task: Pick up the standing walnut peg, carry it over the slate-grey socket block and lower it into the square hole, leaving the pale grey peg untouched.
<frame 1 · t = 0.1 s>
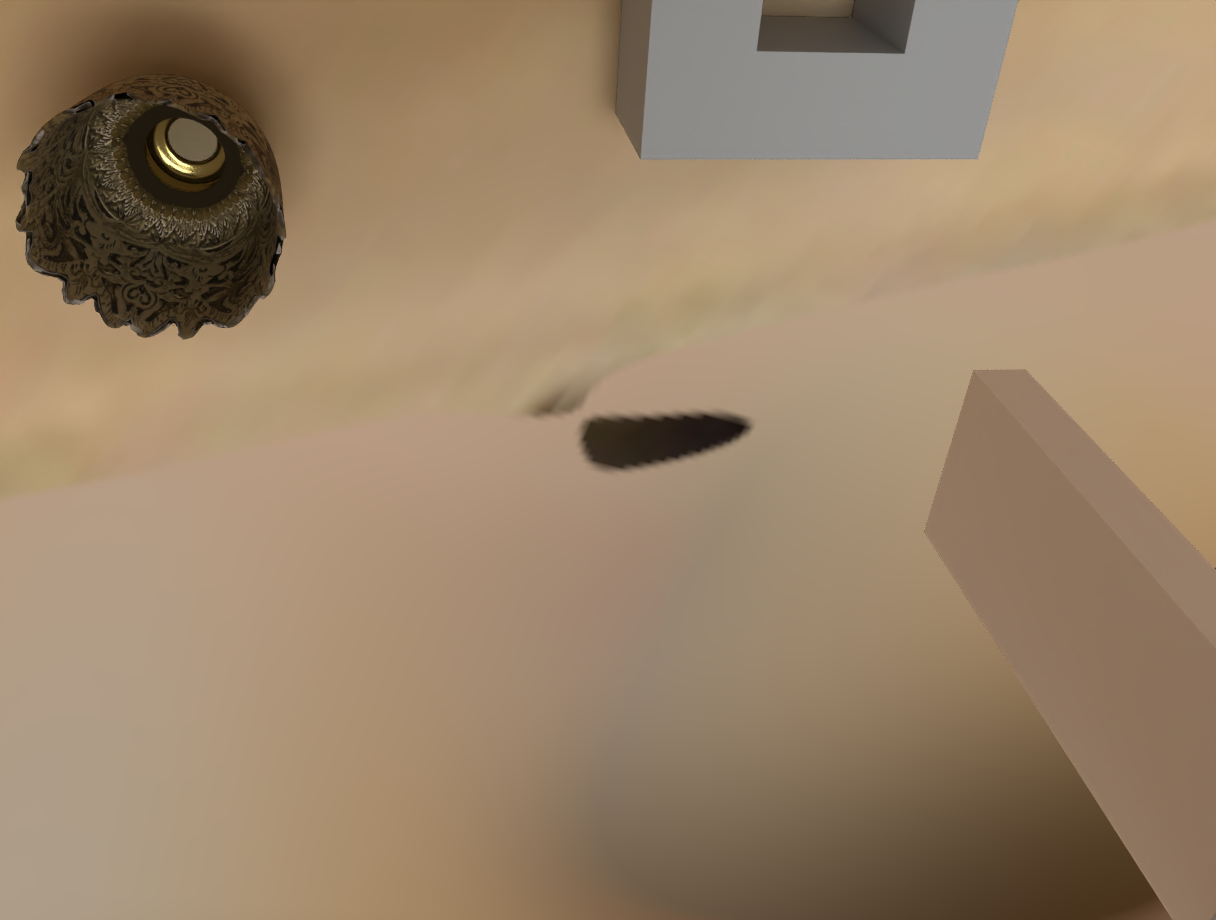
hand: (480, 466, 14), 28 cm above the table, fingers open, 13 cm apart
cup: (193, 136, 38), on the table
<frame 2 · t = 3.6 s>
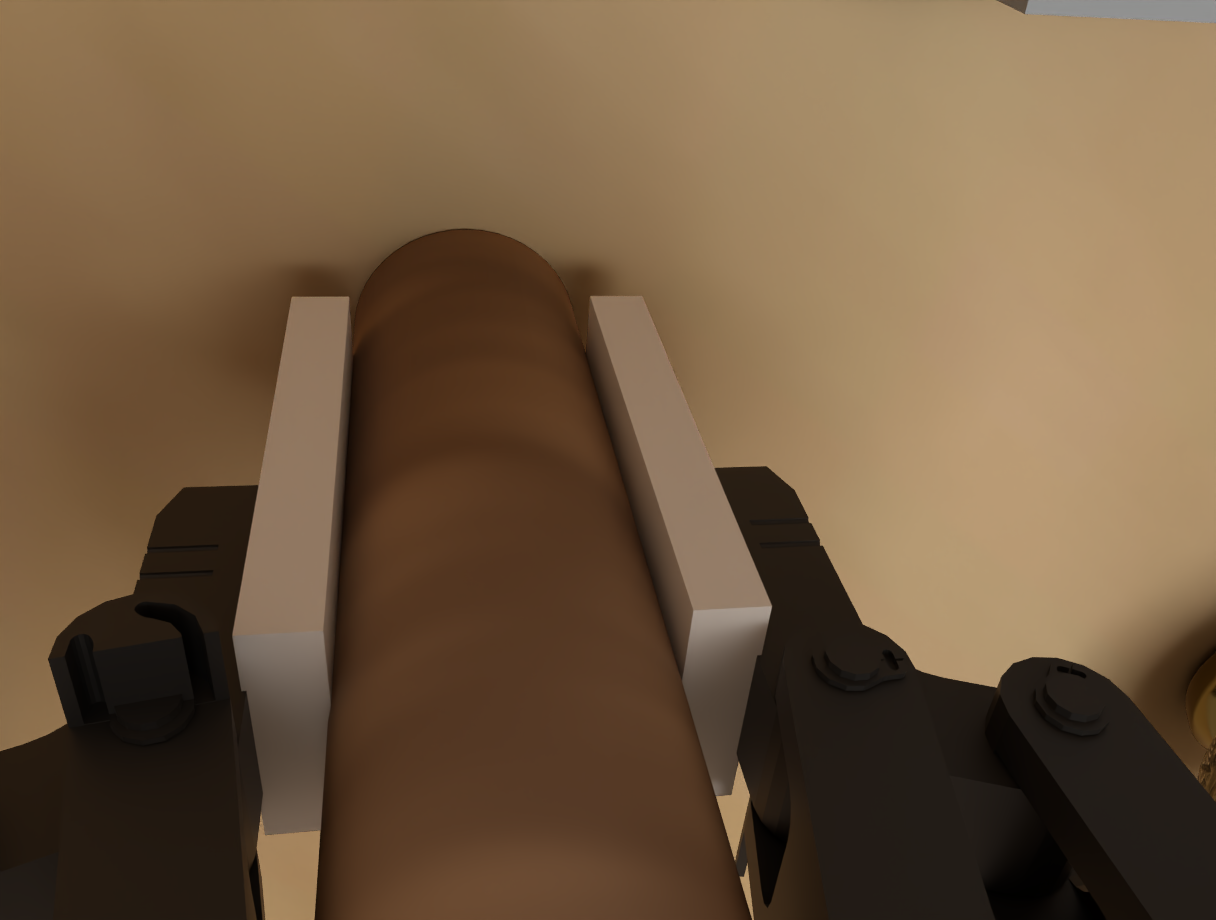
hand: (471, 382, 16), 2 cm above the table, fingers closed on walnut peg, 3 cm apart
walnut peg: (466, 332, 17), on the table, touching gripper
when the fingers open (6 cm above the table, at t = 7.9 s): walnut peg drops 2 cm, resting in socket block.
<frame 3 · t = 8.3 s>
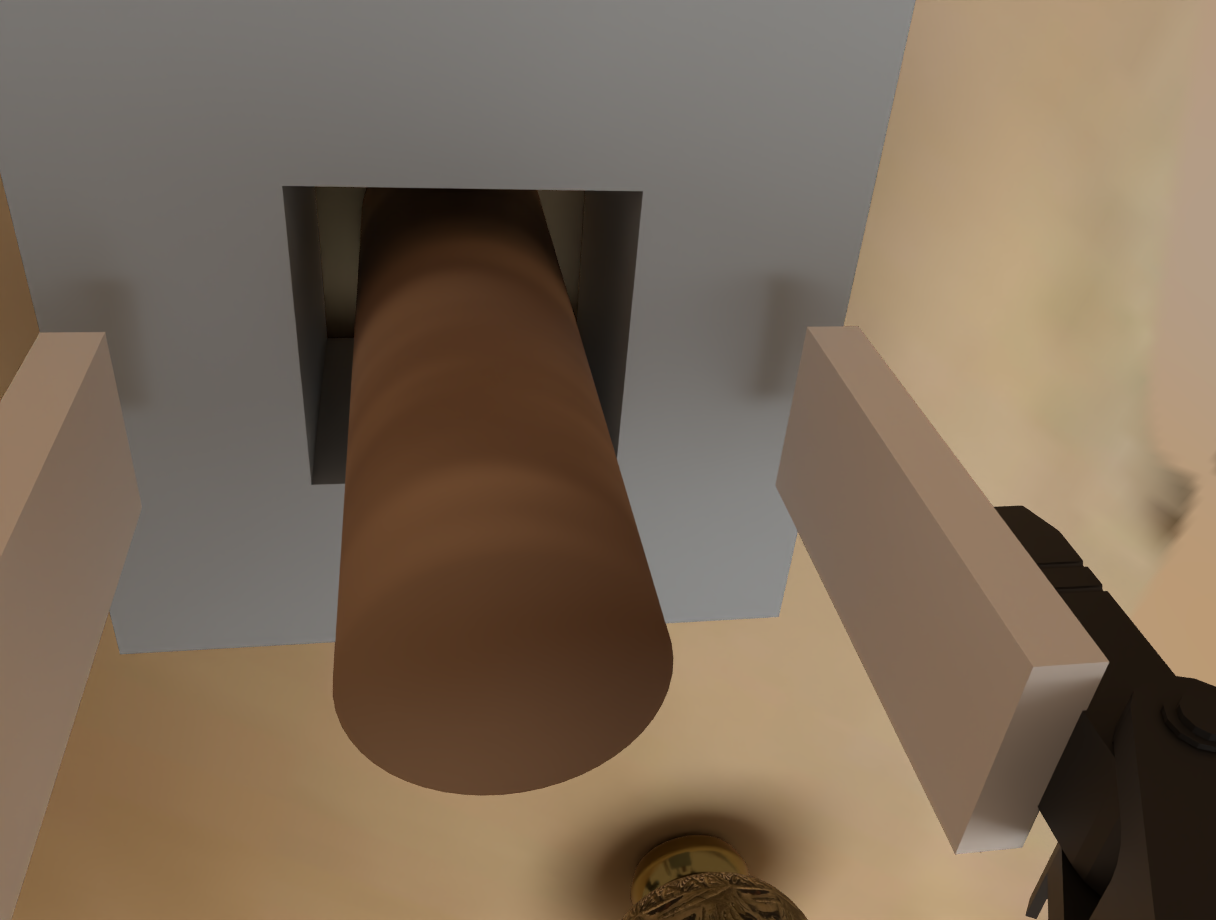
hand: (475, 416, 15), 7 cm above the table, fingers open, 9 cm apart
socket block: (453, 220, 20), on the table
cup: (682, 856, 34), on the table
walnut peg: (453, 221, 20), resting in socket block
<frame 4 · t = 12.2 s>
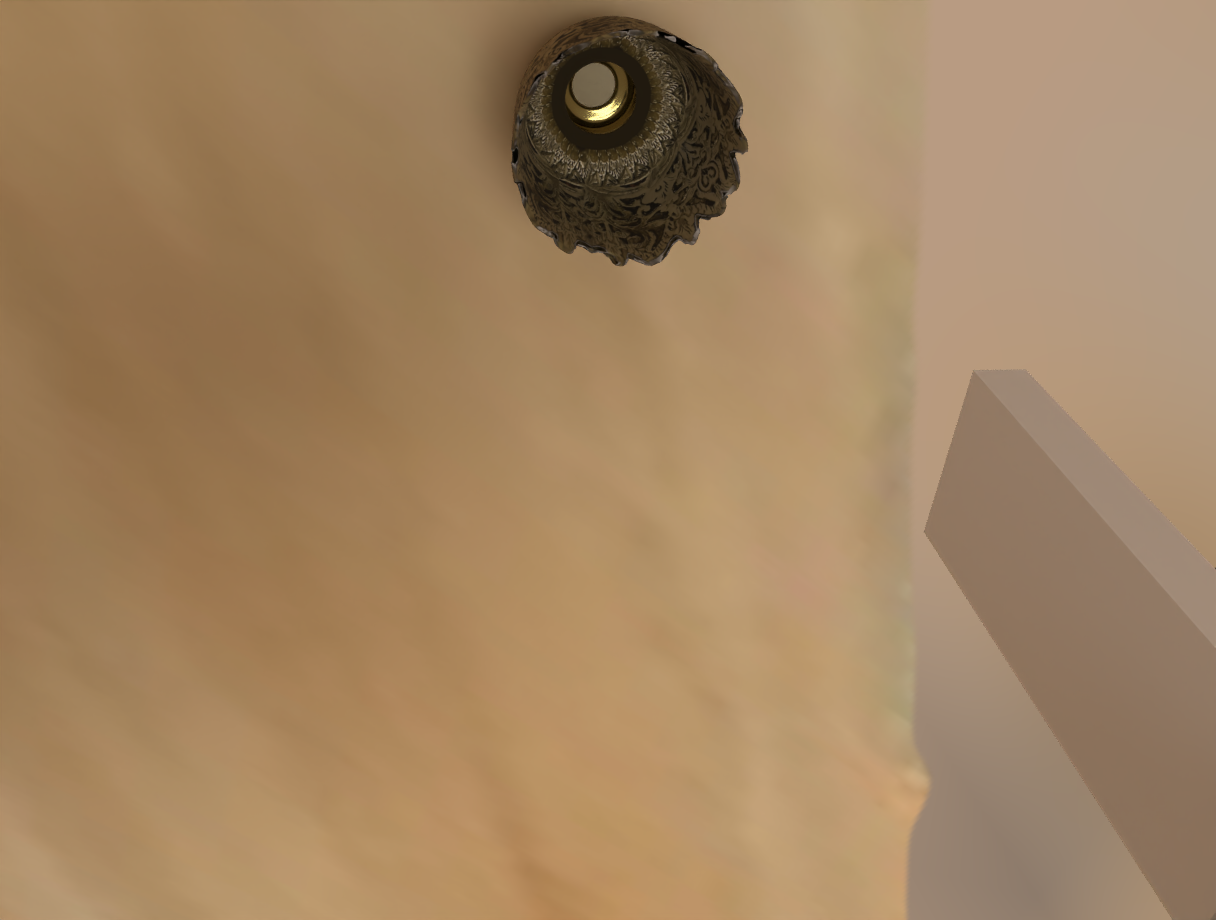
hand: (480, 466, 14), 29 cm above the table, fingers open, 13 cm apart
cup: (592, 83, 40), on the table
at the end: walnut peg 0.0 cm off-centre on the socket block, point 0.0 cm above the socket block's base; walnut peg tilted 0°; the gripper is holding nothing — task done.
